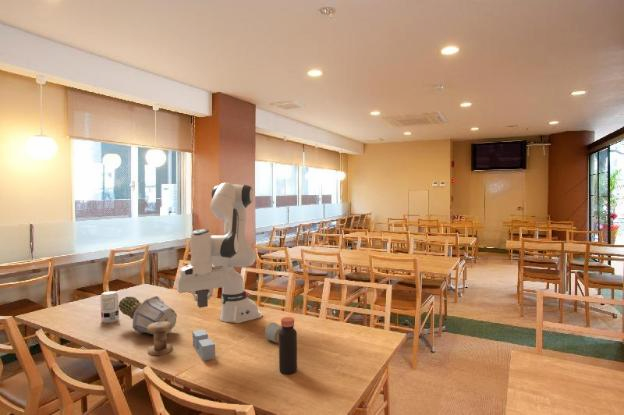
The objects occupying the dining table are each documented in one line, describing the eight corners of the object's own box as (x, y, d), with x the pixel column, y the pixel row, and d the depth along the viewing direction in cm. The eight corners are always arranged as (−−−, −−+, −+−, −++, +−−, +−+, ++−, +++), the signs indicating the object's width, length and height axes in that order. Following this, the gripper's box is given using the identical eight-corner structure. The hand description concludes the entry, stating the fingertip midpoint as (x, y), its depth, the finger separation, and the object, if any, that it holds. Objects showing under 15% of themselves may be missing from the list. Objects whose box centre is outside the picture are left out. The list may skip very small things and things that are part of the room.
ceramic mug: (275, 346, 168) (275, 329, 168) (264, 340, 174) (264, 324, 174) (293, 339, 175) (293, 323, 175) (282, 335, 181) (282, 319, 181)
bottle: (297, 366, 149) (296, 316, 148) (297, 374, 142) (296, 322, 141) (279, 366, 149) (279, 316, 148) (278, 375, 142) (278, 322, 141)
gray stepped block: (204, 342, 173) (203, 329, 173) (215, 358, 156) (214, 344, 156) (192, 344, 171) (192, 331, 170) (202, 361, 154) (202, 346, 154)
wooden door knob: (170, 343, 171) (170, 319, 171) (174, 352, 163) (173, 326, 162) (146, 348, 166) (145, 323, 166) (149, 357, 158) (148, 331, 157)
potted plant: (183, 301, 187) (139, 281, 198) (155, 314, 171) (108, 291, 182) (179, 333, 191) (135, 311, 201) (151, 348, 174) (105, 324, 185)
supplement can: (97, 322, 200) (96, 294, 199) (111, 317, 207) (110, 290, 206) (109, 324, 197) (108, 295, 196) (122, 319, 204) (121, 291, 203)
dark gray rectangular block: (205, 304, 165) (205, 288, 164) (207, 306, 162) (207, 290, 161) (197, 305, 163) (197, 289, 163) (199, 307, 160) (198, 291, 160)
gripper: (223, 264, 169) (224, 294, 170) (175, 269, 159) (176, 301, 160) (227, 266, 164) (228, 298, 165) (178, 271, 154) (179, 305, 155)
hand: (202, 299), depth 162 cm, fingers closed on dark gray rectangular block, 3 cm apart
